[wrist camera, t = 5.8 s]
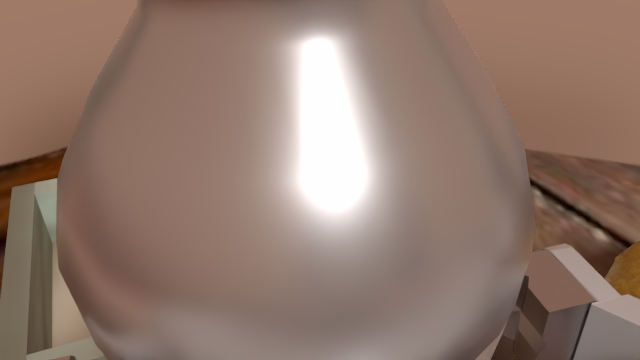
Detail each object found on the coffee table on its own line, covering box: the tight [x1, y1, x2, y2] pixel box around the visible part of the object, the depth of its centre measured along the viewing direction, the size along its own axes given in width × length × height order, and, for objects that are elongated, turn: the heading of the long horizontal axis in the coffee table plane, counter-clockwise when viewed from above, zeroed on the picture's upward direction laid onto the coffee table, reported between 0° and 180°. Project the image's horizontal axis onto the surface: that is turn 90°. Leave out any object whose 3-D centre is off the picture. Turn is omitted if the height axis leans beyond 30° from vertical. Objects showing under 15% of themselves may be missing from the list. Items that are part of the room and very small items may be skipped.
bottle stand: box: [0, 178, 106, 360], centre depth 26 cm, size 14×14×4 cm
